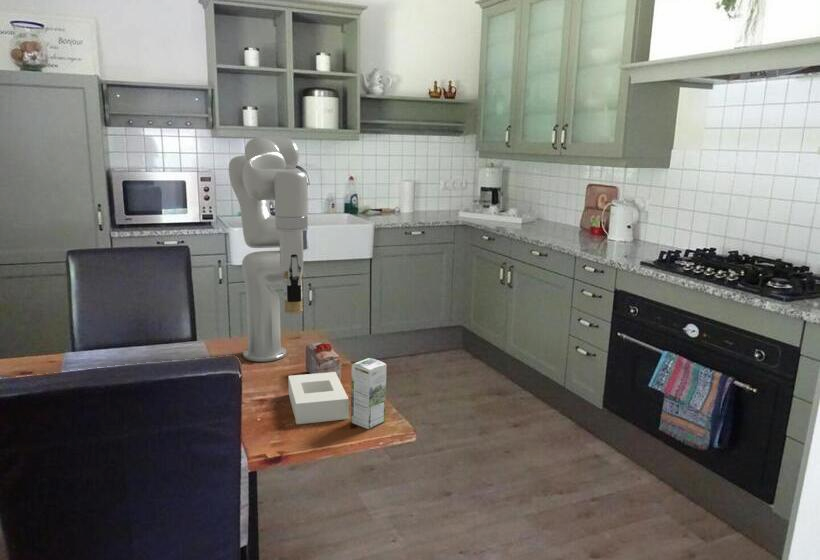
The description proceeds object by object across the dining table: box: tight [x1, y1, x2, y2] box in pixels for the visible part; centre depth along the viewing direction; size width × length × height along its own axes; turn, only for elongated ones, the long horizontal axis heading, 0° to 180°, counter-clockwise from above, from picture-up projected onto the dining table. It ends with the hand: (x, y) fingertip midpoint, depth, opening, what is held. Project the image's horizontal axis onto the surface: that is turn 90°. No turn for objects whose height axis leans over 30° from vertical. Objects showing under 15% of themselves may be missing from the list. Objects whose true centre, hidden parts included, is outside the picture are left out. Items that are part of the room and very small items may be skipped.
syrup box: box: [350, 357, 388, 430], centre depth 140 cm, size 6×6×14 cm
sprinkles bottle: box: [283, 267, 304, 315], centre depth 148 cm, size 5×5×13 cm
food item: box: [305, 342, 343, 381], centre depth 167 cm, size 14×8×10 cm, turn 27°
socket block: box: [287, 372, 350, 425], centre depth 149 cm, size 18×12×5 cm, turn 16°
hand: (293, 298), depth 148 cm, fingers closed on sprinkles bottle, 4 cm apart
